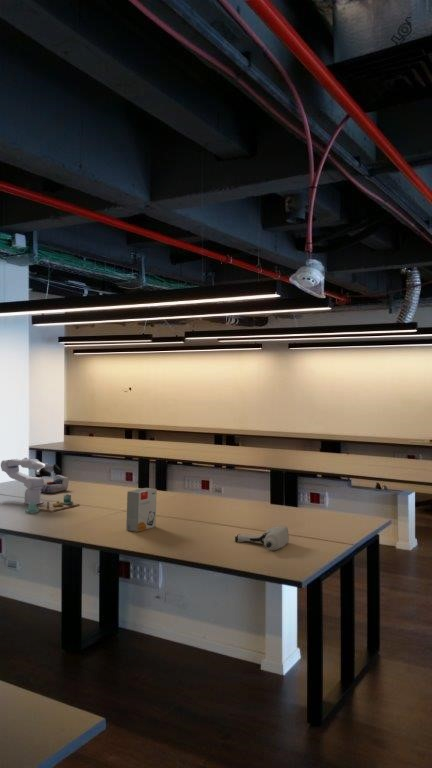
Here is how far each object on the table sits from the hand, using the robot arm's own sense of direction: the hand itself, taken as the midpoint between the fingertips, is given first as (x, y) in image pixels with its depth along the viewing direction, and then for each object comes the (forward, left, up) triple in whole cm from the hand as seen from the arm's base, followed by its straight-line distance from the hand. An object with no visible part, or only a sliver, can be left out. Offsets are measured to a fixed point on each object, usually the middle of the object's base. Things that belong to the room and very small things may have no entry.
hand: (55, 473), depth 345 cm
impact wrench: (+139, -8, -21) cm, 140 cm away
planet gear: (-2, -16, -21) cm, 26 cm away
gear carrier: (+1, +1, -21) cm, 21 cm away
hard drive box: (+74, -12, -21) cm, 77 cm away
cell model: (-40, +37, -21) cm, 59 cm away
